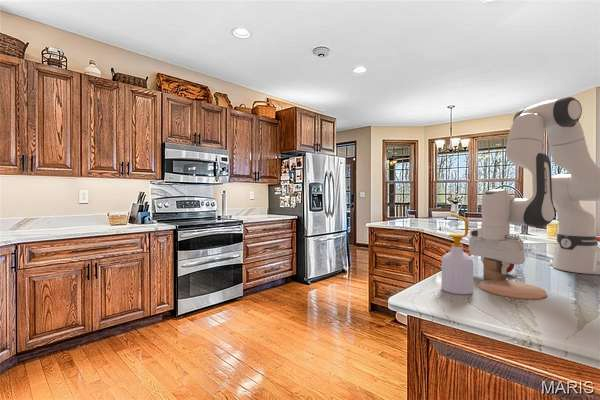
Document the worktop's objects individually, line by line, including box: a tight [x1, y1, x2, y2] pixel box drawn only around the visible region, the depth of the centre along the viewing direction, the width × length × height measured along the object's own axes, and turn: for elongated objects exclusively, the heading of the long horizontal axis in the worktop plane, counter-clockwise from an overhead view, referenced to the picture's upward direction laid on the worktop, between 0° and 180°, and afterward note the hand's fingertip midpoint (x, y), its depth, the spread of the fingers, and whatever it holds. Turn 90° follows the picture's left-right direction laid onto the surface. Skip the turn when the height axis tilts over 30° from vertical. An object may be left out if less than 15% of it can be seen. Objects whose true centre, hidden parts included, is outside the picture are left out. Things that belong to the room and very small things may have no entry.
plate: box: [478, 279, 548, 300], centre depth 102 cm, size 18×18×1 cm
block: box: [483, 258, 507, 281], centre depth 116 cm, size 5×5×7 cm
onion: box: [506, 263, 515, 275], centre depth 123 cm, size 6×6×8 cm
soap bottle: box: [441, 213, 474, 296], centre depth 101 cm, size 9×9×25 cm
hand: (494, 271), depth 116 cm, fingers closed on block, 5 cm apart
